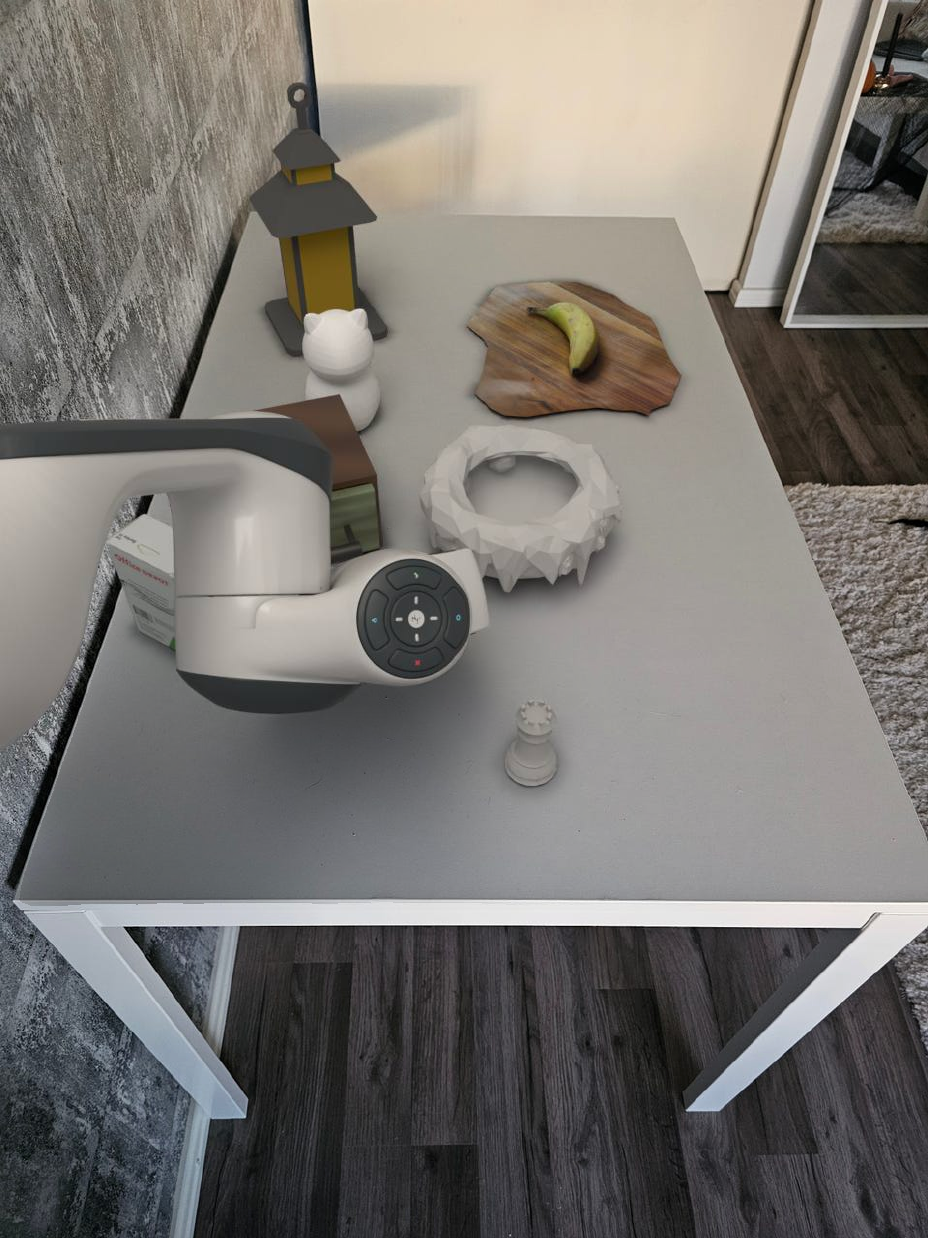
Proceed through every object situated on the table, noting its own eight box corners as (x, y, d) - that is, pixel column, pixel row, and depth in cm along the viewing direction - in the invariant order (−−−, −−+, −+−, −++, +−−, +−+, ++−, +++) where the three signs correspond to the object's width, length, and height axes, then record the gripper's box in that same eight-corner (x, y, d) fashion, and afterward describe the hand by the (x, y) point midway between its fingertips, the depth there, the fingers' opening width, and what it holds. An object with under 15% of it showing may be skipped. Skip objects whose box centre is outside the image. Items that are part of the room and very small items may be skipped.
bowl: (385, 584, 92) (379, 508, 85) (459, 467, 105) (460, 393, 98) (580, 642, 87) (592, 567, 80) (634, 512, 100) (648, 437, 93)
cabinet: (382, 545, 96) (377, 474, 89) (255, 575, 93) (238, 504, 86) (347, 464, 105) (339, 393, 98) (230, 489, 102) (213, 417, 95)
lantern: (263, 308, 129) (223, 72, 107) (357, 289, 133) (337, 57, 111) (290, 358, 120) (253, 112, 98) (390, 336, 124) (376, 95, 102)
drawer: (391, 575, 92) (387, 517, 86) (270, 605, 89) (257, 547, 83) (346, 471, 103) (340, 413, 97) (237, 494, 100) (224, 436, 95)
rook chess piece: (561, 785, 77) (570, 730, 71) (509, 792, 76) (514, 738, 70) (549, 741, 80) (557, 685, 74) (499, 748, 79) (503, 692, 73)
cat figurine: (312, 448, 107) (296, 334, 96) (304, 389, 116) (288, 277, 104) (387, 440, 109) (380, 326, 97) (374, 382, 117) (366, 270, 106)
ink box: (238, 634, 88) (214, 544, 79) (202, 668, 85) (173, 578, 76) (172, 599, 91) (142, 508, 82) (135, 630, 88) (100, 539, 79)
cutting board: (700, 415, 112) (706, 389, 110) (482, 429, 110) (482, 402, 107) (632, 278, 136) (636, 253, 133) (451, 287, 134) (451, 262, 131)
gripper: (244, 693, 65) (242, 677, 78) (509, 622, 70) (464, 618, 83) (221, 607, 64) (223, 606, 78) (490, 542, 69) (448, 551, 83)
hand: (349, 612), depth 80 cm, fingers closed
